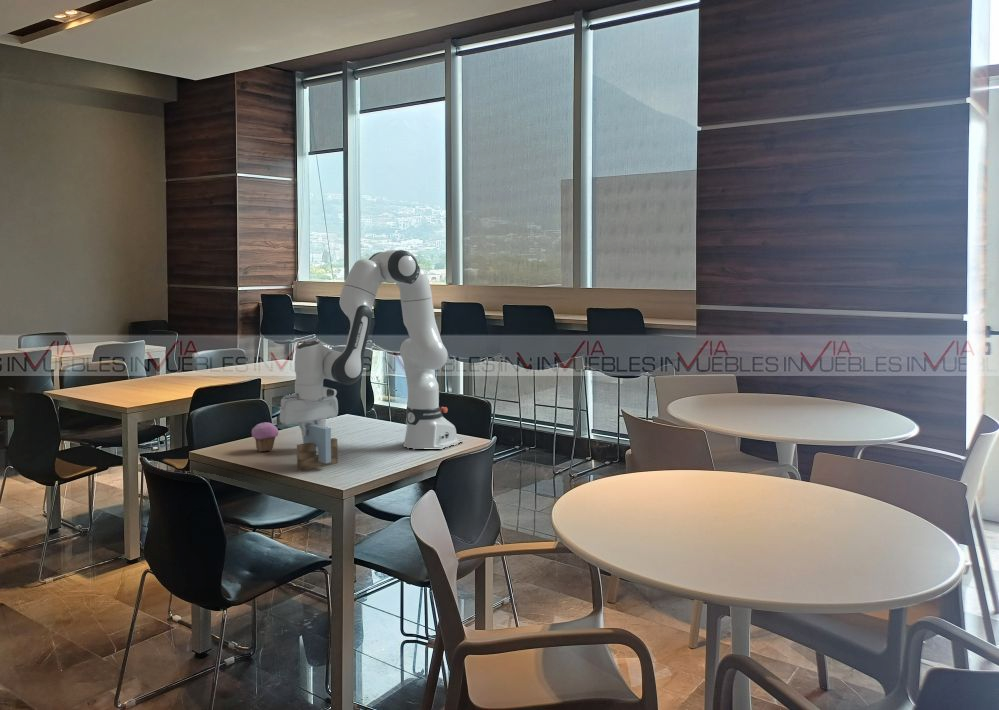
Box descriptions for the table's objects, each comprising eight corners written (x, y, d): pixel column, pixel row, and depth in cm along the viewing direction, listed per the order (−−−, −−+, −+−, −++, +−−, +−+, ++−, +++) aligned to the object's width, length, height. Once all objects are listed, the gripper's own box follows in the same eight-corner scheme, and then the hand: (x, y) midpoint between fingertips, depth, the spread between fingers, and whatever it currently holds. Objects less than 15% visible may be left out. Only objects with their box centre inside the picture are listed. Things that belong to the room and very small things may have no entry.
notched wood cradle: (334, 461, 257) (333, 438, 256) (337, 462, 256) (337, 438, 255) (297, 469, 247) (296, 444, 246) (301, 470, 245) (300, 445, 244)
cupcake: (274, 446, 278) (273, 419, 277) (281, 451, 270) (281, 423, 269) (248, 449, 273) (247, 421, 272) (255, 454, 266) (255, 426, 264)
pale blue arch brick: (303, 457, 254) (303, 423, 253) (309, 455, 255) (308, 422, 254) (325, 463, 246) (325, 429, 245) (331, 462, 248) (330, 428, 246)
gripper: (286, 396, 241) (287, 440, 243) (340, 389, 256) (341, 431, 258) (275, 394, 245) (275, 437, 247) (329, 387, 261) (329, 428, 262)
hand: (309, 434), depth 253 cm, fingers closed on pale blue arch brick, 2 cm apart
